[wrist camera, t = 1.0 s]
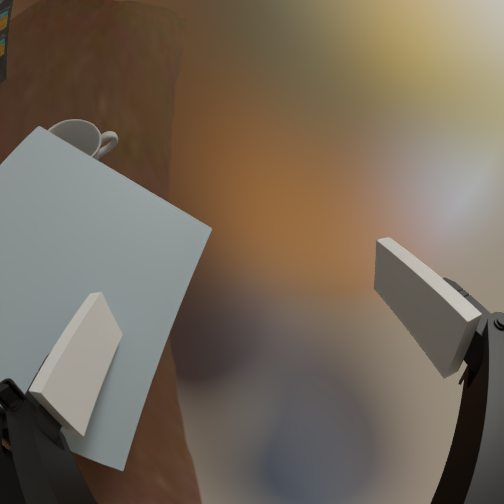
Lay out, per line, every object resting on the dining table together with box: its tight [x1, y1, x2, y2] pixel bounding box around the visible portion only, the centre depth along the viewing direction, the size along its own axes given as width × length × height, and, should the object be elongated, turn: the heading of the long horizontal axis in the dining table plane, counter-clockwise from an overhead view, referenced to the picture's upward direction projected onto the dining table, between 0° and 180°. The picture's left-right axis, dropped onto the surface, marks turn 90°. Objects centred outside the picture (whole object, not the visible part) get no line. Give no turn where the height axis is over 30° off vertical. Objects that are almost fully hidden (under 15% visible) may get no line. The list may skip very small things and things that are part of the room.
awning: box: [0, 126, 212, 471], centre depth 21 cm, size 16×17×26 cm
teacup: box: [48, 119, 118, 160], centre depth 36 cm, size 14×11×8 cm
